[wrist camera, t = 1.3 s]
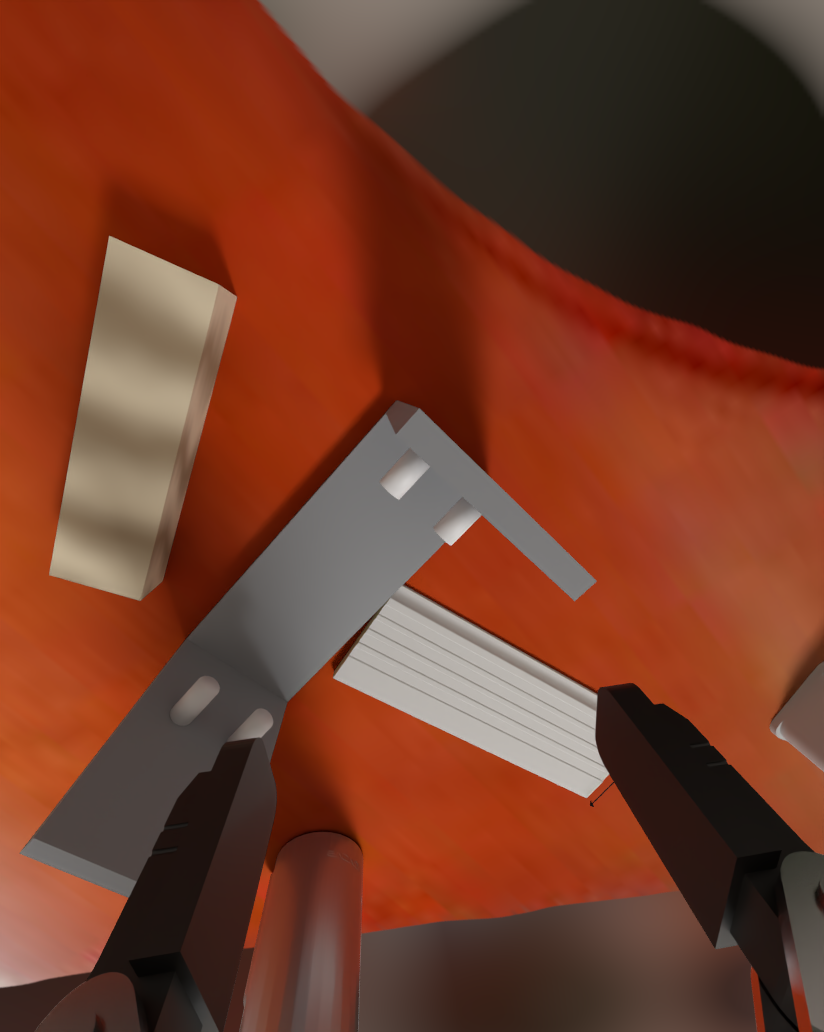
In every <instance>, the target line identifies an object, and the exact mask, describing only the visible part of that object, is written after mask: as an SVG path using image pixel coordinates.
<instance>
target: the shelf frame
mask: <svg viewBox="0 0 824 1032" xmlns="http://www.w3.org/2000/svg"><path fill="white" fill-rule="evenodd" d="M481 515H483V516H484V517H485V518H486V519H487V520H488V521H489V522H490V523H491V524H492V525H493V526H494V527H495V528H497V529H498V530H499V531H500V532H501V533H502V534H503V535H504V536H505V537H506V538H507V539H508V540H509V541H511V542H512V543H513V544H514V545H515V546H516V547H517V548H518V549H519V550H520V551H521V552H522V553H523V554H525V555H526V556H527V557H528V558H529V559H530V560H531V561H532V562H533V563H534V564H535V565H536V566H537V567H539V568H540V569H541V570H542V571H543V572H544V573H545V574H546V575H547V576H548V577H549V578H550V579H551V580H552V581H554V582H555V583H556V584H557V585H558V586H559V587H560V588H561V589H562V590H563V591H564V592H565V593H566V594H568V595H569V596H570V597H571V598H572V599H573V600H574V601H575V600H577V599H578V598H579V597H580V596H581V595H582V594H583V593H584V592H585V591H586V590H588V589H589V588H590V587H591V586H592V585H593V584H594V583H595V582H596V580H595V579H594V578H593V577H592V576H591V575H590V574H589V573H588V572H587V571H586V570H585V569H584V568H583V567H582V566H581V565H580V564H579V563H578V562H577V561H576V560H574V559H573V558H572V557H571V556H570V555H569V554H568V553H567V552H566V551H565V550H564V549H563V548H562V547H561V546H560V545H559V544H558V543H557V542H556V541H555V540H554V539H553V538H552V537H551V536H550V535H549V534H548V533H547V532H546V531H545V530H544V529H543V528H542V527H541V526H540V525H539V524H538V523H537V522H536V521H534V520H533V519H532V518H531V517H530V516H529V515H528V514H527V513H526V512H525V511H524V510H523V509H522V508H521V507H520V506H519V505H518V504H517V503H516V502H515V501H514V500H513V499H512V498H511V497H510V496H509V495H508V494H507V493H506V492H505V491H504V490H503V489H502V488H501V487H500V486H499V485H498V484H497V483H496V482H495V481H493V480H492V479H491V478H490V477H489V476H488V475H487V474H486V473H485V472H484V471H483V470H482V469H481V468H480V467H479V466H478V465H477V464H476V463H475V462H474V461H473V460H472V459H471V458H470V457H469V456H468V455H467V454H466V453H465V452H464V451H463V450H462V449H461V448H460V447H459V446H458V445H457V444H456V443H455V442H453V441H452V440H451V439H450V438H449V437H448V436H447V435H446V434H445V433H444V432H443V431H442V430H441V429H440V428H439V427H438V426H437V425H436V424H435V423H434V422H433V421H432V420H431V419H430V418H429V417H428V416H427V415H426V414H425V413H424V412H423V411H422V410H421V409H420V408H417V407H414V406H412V405H409V404H406V403H403V402H400V401H398V400H396V401H395V403H394V404H393V405H392V406H391V407H390V408H389V409H388V410H387V412H386V413H385V414H384V415H383V416H382V417H381V418H380V420H379V421H378V422H377V423H376V424H375V425H374V426H373V427H372V429H371V430H370V431H369V432H368V433H367V434H366V435H365V437H364V438H363V439H362V440H361V441H360V442H359V443H358V444H357V446H356V447H355V448H354V449H353V450H352V451H351V452H350V454H349V455H348V456H347V457H346V458H345V459H344V460H343V461H342V463H341V464H340V465H339V466H338V467H337V468H336V469H335V471H334V472H333V473H332V474H331V475H330V476H329V477H328V478H327V480H326V481H325V482H324V483H323V484H322V485H321V486H320V488H319V489H318V490H317V491H316V492H315V493H314V494H313V495H312V497H311V498H310V499H309V500H308V501H307V502H306V503H305V505H304V506H303V507H302V508H301V509H300V510H299V511H298V512H297V514H296V515H295V516H294V517H293V518H292V519H291V520H290V522H289V523H288V524H287V525H286V526H285V527H284V528H283V529H282V531H281V532H280V533H279V534H278V535H277V536H276V537H275V539H274V540H273V541H272V542H271V543H270V544H269V545H268V546H267V548H266V549H265V550H264V551H263V552H262V553H261V554H260V556H259V557H258V558H257V559H256V560H255V561H254V562H253V563H252V565H251V566H250V567H249V568H248V569H247V570H246V571H245V573H244V574H243V575H242V576H241V577H240V578H239V579H238V580H237V582H236V583H235V584H234V585H233V586H232V587H231V588H230V590H229V591H228V592H227V593H226V594H225V595H224V596H223V597H222V599H221V600H220V601H219V602H218V603H217V604H216V605H215V607H214V608H213V609H212V610H211V611H210V612H209V613H208V614H207V616H206V617H205V618H204V619H203V620H202V621H201V622H200V624H199V625H198V626H197V627H196V628H195V629H194V630H193V631H192V633H191V634H190V635H189V636H188V637H187V638H186V639H185V641H184V642H183V643H182V644H181V646H180V647H179V648H178V650H177V651H176V652H175V653H174V655H173V656H172V657H171V659H170V660H169V661H168V662H167V664H166V665H165V666H164V668H163V669H162V670H161V671H160V673H159V674H158V675H157V677H156V678H155V679H154V681H153V682H152V683H151V684H150V686H149V687H148V688H147V690H146V691H145V692H144V693H143V695H142V696H141V697H140V699H139V700H138V701H137V702H136V704H135V705H134V706H133V708H132V709H131V710H130V711H129V713H128V714H127V715H126V717H125V718H124V719H123V720H122V722H121V723H120V724H119V726H118V727H117V728H116V729H115V731H114V732H113V733H112V735H111V736H110V737H109V738H108V740H107V741H106V742H105V744H104V745H103V746H102V748H101V749H100V750H99V751H98V753H97V754H96V755H95V757H94V758H93V759H92V760H91V762H90V763H89V764H88V766H87V767H86V768H85V769H84V771H83V772H82V773H81V775H80V776H79V777H78V778H77V780H76V781H75V782H74V784H73V785H72V786H71V787H70V789H69V790H68V791H67V793H66V794H65V795H64V796H63V798H62V799H61V800H60V802H59V803H58V804H57V805H56V807H55V808H54V809H53V811H52V812H51V813H50V815H49V816H48V817H47V818H46V820H45V821H44V822H43V824H42V825H41V826H40V827H39V829H38V830H37V831H36V833H35V834H34V835H33V836H32V838H31V839H30V840H29V842H28V843H27V844H26V845H25V847H24V848H23V849H22V851H21V852H20V854H22V855H25V856H27V857H29V858H32V859H34V860H37V861H39V862H42V863H44V864H47V865H49V866H52V867H54V868H57V869H59V870H62V871H64V872H66V873H69V874H71V875H74V876H76V877H79V878H81V879H84V880H86V881H89V882H91V883H94V884H96V885H99V886H101V887H103V888H106V889H108V890H111V891H113V892H116V893H118V894H121V895H123V896H126V897H128V898H129V896H130V894H131V892H132V890H133V888H134V886H135V884H136V882H137V880H138V878H139V876H140V874H141V872H142V870H143V868H144V866H145V864H146V862H147V859H148V857H151V855H152V849H153V847H154V845H155V843H156V841H157V839H158V837H159V835H160V833H161V832H163V830H164V825H165V823H166V821H167V819H168V817H169V814H170V812H171V810H172V808H173V806H174V804H175V802H176V800H177V798H178V797H179V796H180V794H181V793H182V792H183V791H184V790H185V789H186V787H187V786H188V785H189V784H190V783H191V781H192V780H193V779H194V778H195V777H196V776H197V774H198V773H201V772H207V771H211V770H212V767H213V765H214V763H215V761H216V758H217V756H218V754H219V751H220V749H221V747H222V746H223V745H224V744H225V743H226V742H230V741H237V740H243V739H250V738H257V737H260V738H261V739H262V740H263V742H264V745H265V749H266V752H267V756H268V759H269V763H270V761H271V757H272V754H273V751H274V747H275V744H276V740H277V737H278V733H279V730H280V726H281V723H282V719H283V716H284V712H285V709H286V706H287V702H288V701H289V700H290V699H291V698H292V697H293V696H294V695H295V694H296V693H297V692H298V691H299V690H300V689H301V688H302V687H303V686H304V685H305V684H306V683H307V682H308V681H309V680H310V679H311V678H312V677H313V676H314V675H315V674H316V673H317V671H318V670H319V669H320V668H321V667H322V666H323V665H324V664H325V663H326V662H327V661H328V660H329V659H330V658H331V657H332V656H333V655H334V654H335V653H336V652H337V651H338V650H339V649H340V648H341V647H342V646H343V645H344V644H345V643H346V642H347V641H348V640H349V639H350V638H351V637H352V636H353V635H354V634H355V633H356V632H357V631H358V630H359V629H360V628H361V627H362V626H363V625H364V624H365V623H366V622H367V621H368V620H369V619H370V618H371V617H372V616H373V615H374V614H375V613H376V612H377V611H378V610H379V609H380V608H381V607H382V606H383V605H384V604H385V603H386V602H387V600H388V599H389V598H390V597H391V596H392V595H393V594H394V593H395V592H396V591H397V590H398V589H399V588H400V587H401V586H402V585H403V584H404V583H405V582H406V581H407V580H408V579H409V578H410V577H411V576H412V575H413V574H414V573H415V572H416V571H417V570H418V569H419V568H420V567H421V566H422V565H423V564H424V563H425V562H426V561H427V560H428V559H429V558H430V557H431V556H432V555H433V554H434V553H435V552H436V551H437V550H438V549H439V548H440V547H441V546H442V545H443V544H444V543H445V542H446V543H448V544H449V545H452V544H453V543H454V542H455V541H456V540H457V539H458V538H459V537H460V536H461V535H462V534H463V533H464V532H465V531H466V530H467V529H468V528H469V527H470V526H471V525H472V524H473V523H474V522H475V521H476V520H477V519H478V518H479V517H480V516H481Z"/></svg>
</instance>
